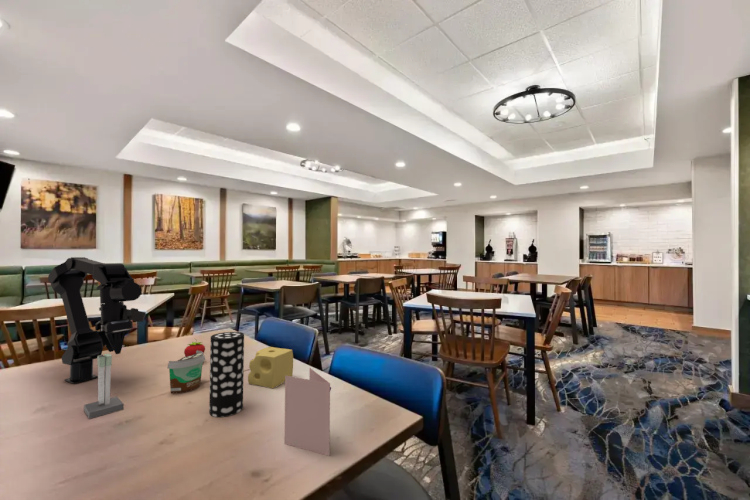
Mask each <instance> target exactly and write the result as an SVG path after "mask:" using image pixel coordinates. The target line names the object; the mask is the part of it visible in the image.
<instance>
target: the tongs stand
mask: <svg viewBox="0 0 750 500" xmlns="http://www.w3.org/2000/svg"><path fill="white" fill-rule="evenodd" d="M103 356H105V367H104V403H103V404H100V405H99V404H98V400H97V401H93V402H90V403H86V404H84V405H83V411H84V414H86V416H87V418H88V420H91V419H95V418H97V417H102V416H104V415H105V416H106V415H108V414H113V413H115V412H119V411H123V410H124V403H123V401H122V400H121V399H120V398H119V397H118V396H114V397H111V375H112V374H111V371H112V368H111V367H112V364H113V363H112V361H113V360H112V359H113V355H111V353H106V354H103Z"/></svg>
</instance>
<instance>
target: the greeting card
mask: <svg viewBox="0 0 750 500" xmlns="http://www.w3.org/2000/svg"><path fill="white" fill-rule="evenodd" d="M308 376H309V379H308V378H303V377H297V376H296V377H295V376H292V377H291V376H285V382H284V383H285V384H284V386H285V387H284V438H283V439H284V441H283V444H284V445H289V446H291V447H295V448H299V449H302V450H303V449H304V450H306V451H309V452H314V453H317V454H321V455H324V456H328V457H329V456H330V433H331V431H330V428H331V427H330V426H331V425H330V423H331V416H330V415H331V391H332V390H331V389H332V387H331V383H330V382H329V381H328V380H326V379H325V378H324V377H322V376H321V375H320V374H318V373H317V372H316V371H315V370H314V369H312V368H311V367H309V375H308Z"/></svg>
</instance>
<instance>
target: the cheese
mask: <svg viewBox="0 0 750 500" xmlns="http://www.w3.org/2000/svg"><path fill="white" fill-rule="evenodd" d="M248 368H249V370H250V372H248V376H247V381H248V385H252V384H253V385H254V386H260V387H264V388H269V389H275V388H277V387H278V386H280V385H281V383H282V384H284V383H285V382H284V381H285V376H291V377H293V371H294V352H293V349H289V348H282V347H281V348H280V347H274V346H268V347H264V348H261V349H259V350H257V351H256V353H255V356H254V358H253V359H251V360H249V366H248ZM283 382H284V383H283ZM276 386H277V387H276ZM274 387H275V388H274Z"/></svg>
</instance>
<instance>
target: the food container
mask: <svg viewBox="0 0 750 500" xmlns="http://www.w3.org/2000/svg"><path fill="white" fill-rule="evenodd" d="M205 361H206V357H205V353H204V354H203V352H202V351H196V354H194V355H191V356H186V357H185V356H183V357H181V358H180V359H178V360H168V364H167V367H166V368H167V369H168V371H169V385H170V386H169V387H170V394H172V395H175V394H176V395H177V394H184V393H185V394H186V393H189V392H192V391H194V390H197V389H198V388H200V387H201V381H202V373H203V363H204V362H205Z"/></svg>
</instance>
